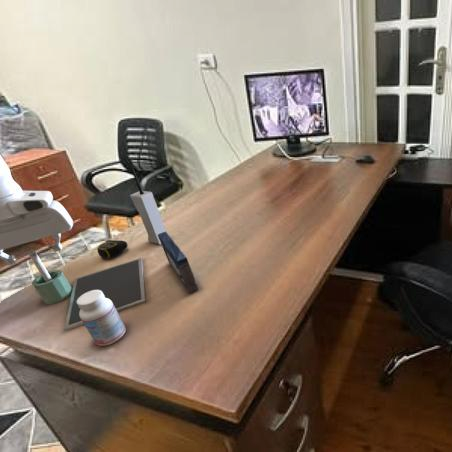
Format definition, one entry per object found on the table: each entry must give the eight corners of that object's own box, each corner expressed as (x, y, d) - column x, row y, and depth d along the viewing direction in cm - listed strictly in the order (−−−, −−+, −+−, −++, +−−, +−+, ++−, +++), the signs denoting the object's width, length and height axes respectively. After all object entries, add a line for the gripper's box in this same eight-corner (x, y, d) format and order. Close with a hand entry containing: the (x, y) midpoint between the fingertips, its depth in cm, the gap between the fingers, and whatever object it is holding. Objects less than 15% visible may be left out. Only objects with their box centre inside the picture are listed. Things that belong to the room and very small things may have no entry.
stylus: (53, 296, 90) (27, 255, 84) (54, 293, 92) (29, 252, 85) (60, 294, 91) (34, 253, 85) (61, 291, 92) (36, 250, 86)
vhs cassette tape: (168, 263, 100) (157, 234, 95) (179, 259, 102) (168, 230, 97) (187, 295, 87) (174, 262, 82) (199, 290, 88) (187, 257, 83)
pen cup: (41, 307, 88) (29, 289, 85) (46, 293, 93) (34, 275, 90) (71, 298, 90) (60, 279, 87) (73, 284, 95) (63, 266, 92)
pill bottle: (91, 338, 77) (67, 299, 71) (120, 321, 80) (99, 283, 75) (101, 351, 73) (77, 311, 67) (131, 333, 77) (110, 294, 71)
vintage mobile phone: (158, 236, 115) (130, 164, 103) (169, 239, 113) (141, 165, 100) (149, 242, 112) (118, 168, 100) (160, 245, 110) (130, 170, 98)
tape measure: (130, 249, 110) (126, 238, 108) (114, 261, 104) (109, 251, 102) (113, 247, 111) (108, 237, 109) (95, 260, 106) (90, 249, 104)
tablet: (65, 331, 79) (63, 328, 79) (75, 281, 97) (74, 278, 96) (146, 302, 86) (144, 299, 85) (142, 260, 103) (141, 257, 103)
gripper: (-62, 226, 72) (-21, 279, 79) (54, 198, 80) (82, 248, 87) (-50, 215, 77) (-13, 265, 84) (58, 189, 85) (84, 237, 92)
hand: (36, 256), depth 86 cm, fingers open, 8 cm apart
